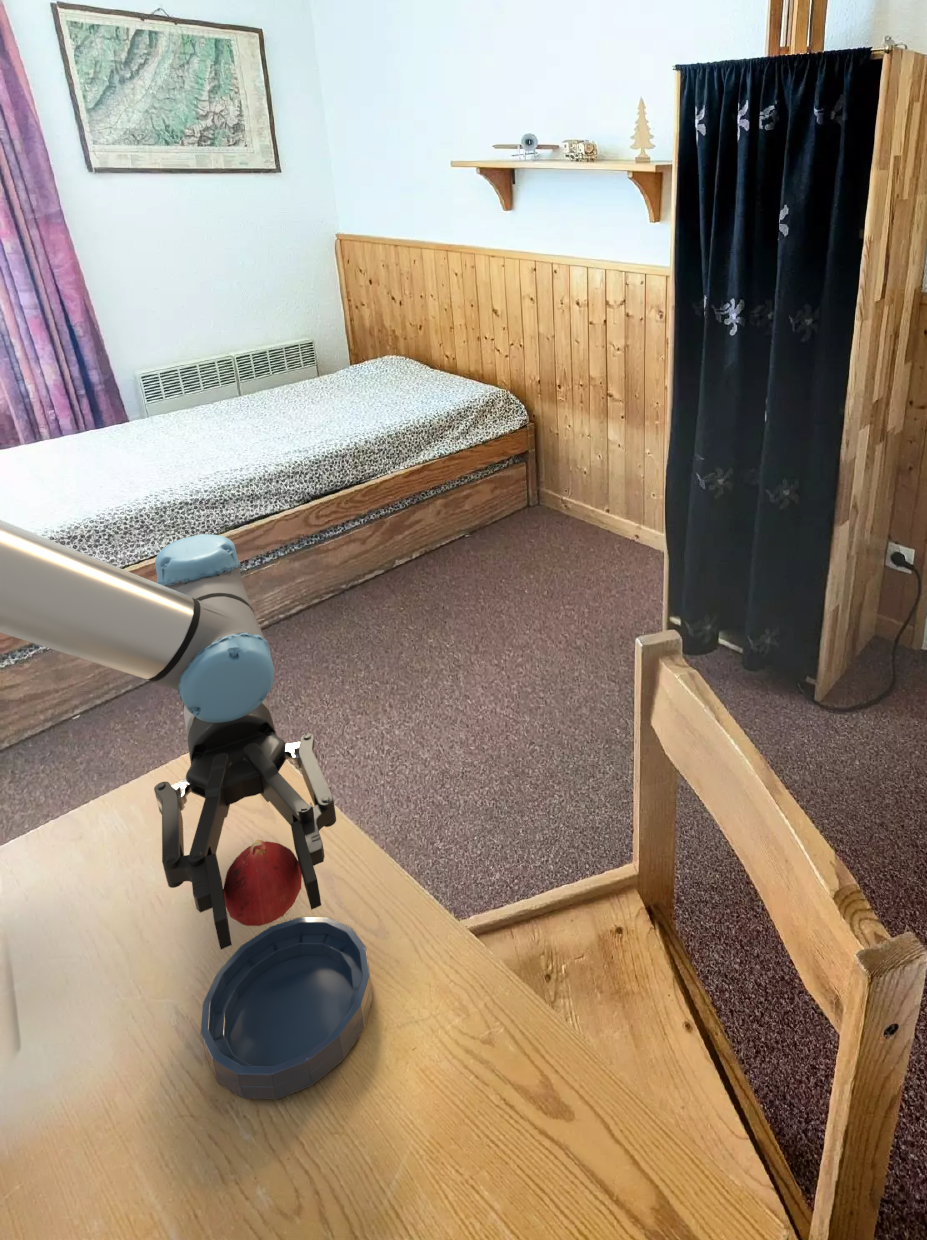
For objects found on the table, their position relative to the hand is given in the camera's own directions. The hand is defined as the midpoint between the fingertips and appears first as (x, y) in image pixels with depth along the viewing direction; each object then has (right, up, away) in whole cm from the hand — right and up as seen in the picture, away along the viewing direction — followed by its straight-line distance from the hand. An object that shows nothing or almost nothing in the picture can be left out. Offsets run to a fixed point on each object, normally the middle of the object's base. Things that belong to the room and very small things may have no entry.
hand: (269, 913), depth 58 cm
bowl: (-2, -15, +9) cm, 17 cm away
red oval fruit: (-3, -4, +6) cm, 8 cm away
